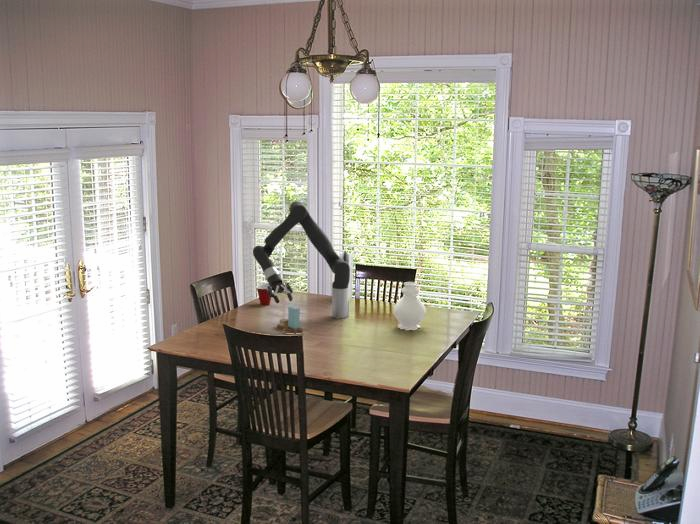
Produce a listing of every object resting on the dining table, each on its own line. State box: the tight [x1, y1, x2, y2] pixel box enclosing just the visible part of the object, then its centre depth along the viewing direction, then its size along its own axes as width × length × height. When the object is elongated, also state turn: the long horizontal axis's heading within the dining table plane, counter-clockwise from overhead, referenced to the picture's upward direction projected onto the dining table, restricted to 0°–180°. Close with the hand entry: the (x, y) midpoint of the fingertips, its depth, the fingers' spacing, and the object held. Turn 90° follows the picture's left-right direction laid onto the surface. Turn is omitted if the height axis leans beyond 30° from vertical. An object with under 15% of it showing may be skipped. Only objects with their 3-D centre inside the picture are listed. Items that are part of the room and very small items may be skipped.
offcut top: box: [279, 317, 288, 325], centre depth 388 cm, size 5×4×2 cm
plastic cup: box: [255, 283, 273, 307], centre depth 437 cm, size 11×11×12 cm
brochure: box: [339, 249, 354, 301], centre depth 455 cm, size 14×6×30 cm, turn 168°
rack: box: [272, 324, 315, 336], centre depth 384 cm, size 14×21×3 cm, turn 40°
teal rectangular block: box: [287, 305, 301, 329], centre depth 382 cm, size 3×6×13 cm, turn 40°
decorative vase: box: [393, 281, 427, 331], centre depth 395 cm, size 18×18×25 cm
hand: (284, 301), depth 386 cm, fingers open, 8 cm apart
